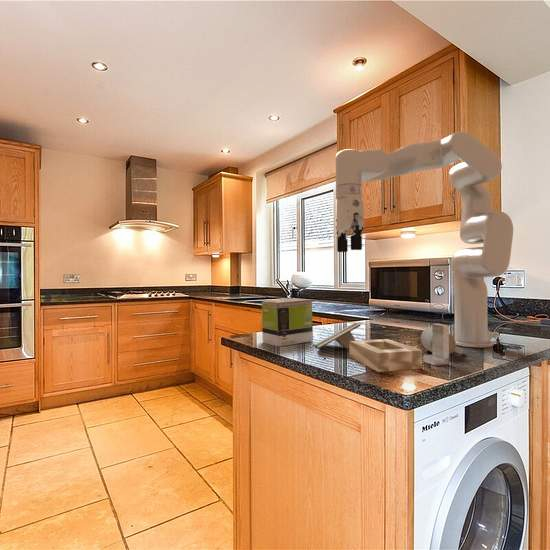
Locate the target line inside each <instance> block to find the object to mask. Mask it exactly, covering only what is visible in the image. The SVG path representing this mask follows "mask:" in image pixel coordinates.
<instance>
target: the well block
mask: <svg viewBox="0 0 550 550" xmlns="http://www.w3.org/2000/svg"><path fill="white" fill-rule="evenodd" d="M348 349H349V351H348V353H349V355H348V356H349V358H350V359H352V360H355V361H356V362H358V363H359V364H362V365H364V366H366V367H367V368H370V369H372V370H374V371H376V372H378V373H380V372H381V373H383V372H394V371H395V372H396V371H407V370H418V369H419V370H422V369H423V350H422V349H419V348H416V347H412V346H409V345H407V344H404V343H401V342H398V341H394V340H392V339H389V338H383V339H382V338H379V339H365V340H363V339H362V340H355V341H349V348H348Z"/></svg>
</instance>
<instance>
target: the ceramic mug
mask: <svg viewBox="0 0 550 550" xmlns="http://www.w3.org/2000/svg"><path fill="white" fill-rule="evenodd" d="M454 338H455V336H453V335H452V334H451V333H450V332H449V355H451V354H452V353H453V352H454V353H455V354H458V355H463V353H464V349H463V348H461V347H460V346H458V345H456V342H455V339H454ZM420 342H421V345H422V346H423V348H425V350H427V351H429V352H431V353H432V325H431V326H428V327H426V328H425V329H424V330H422V332H421V335H420Z"/></svg>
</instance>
